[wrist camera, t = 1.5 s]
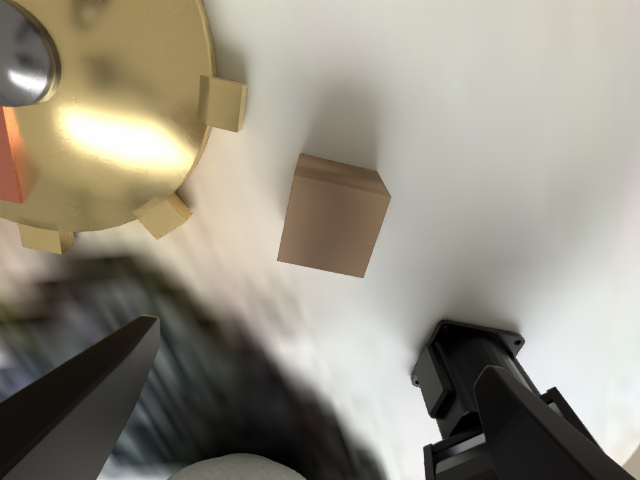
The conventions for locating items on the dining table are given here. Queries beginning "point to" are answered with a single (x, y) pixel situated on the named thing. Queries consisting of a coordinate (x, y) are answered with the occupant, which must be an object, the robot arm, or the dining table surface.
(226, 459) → the cereal bowl
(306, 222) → the block
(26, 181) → the sprocket
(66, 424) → the robot arm
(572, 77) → the dining table surface
